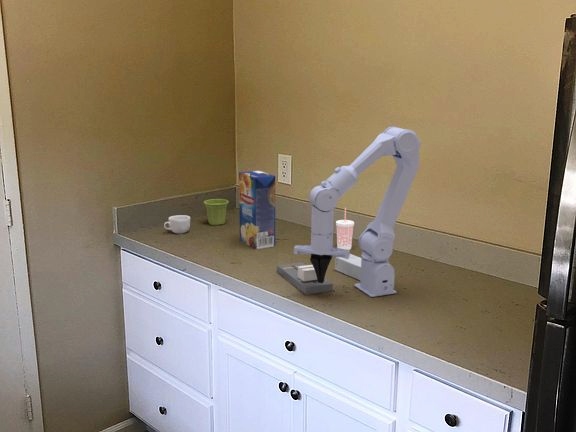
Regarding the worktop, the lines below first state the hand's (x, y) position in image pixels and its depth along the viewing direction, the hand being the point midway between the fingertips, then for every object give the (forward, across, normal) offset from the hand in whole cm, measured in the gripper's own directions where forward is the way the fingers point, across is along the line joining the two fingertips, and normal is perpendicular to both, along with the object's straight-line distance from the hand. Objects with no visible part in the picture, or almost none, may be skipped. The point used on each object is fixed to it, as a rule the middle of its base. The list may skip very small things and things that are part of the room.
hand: (320, 281), depth 162 cm
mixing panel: (+3, +7, -9) cm, 11 cm away
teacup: (+4, +63, -46) cm, 78 cm away
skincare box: (+1, -2, -23) cm, 23 cm away
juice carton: (+4, +30, -41) cm, 51 cm away
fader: (+1, +4, -5) cm, 6 cm away
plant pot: (+4, +54, -62) cm, 82 cm away
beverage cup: (+4, +1, -44) cm, 44 cm away
